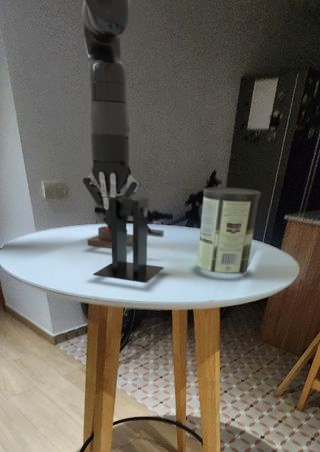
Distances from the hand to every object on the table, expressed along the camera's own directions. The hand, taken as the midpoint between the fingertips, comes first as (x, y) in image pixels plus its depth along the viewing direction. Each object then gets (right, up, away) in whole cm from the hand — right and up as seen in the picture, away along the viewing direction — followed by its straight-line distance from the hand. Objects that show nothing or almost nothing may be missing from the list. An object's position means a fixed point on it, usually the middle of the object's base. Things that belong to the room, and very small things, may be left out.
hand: (113, 227), depth 83 cm
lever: (+7, -8, -16) cm, 19 cm away
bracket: (+5, -17, -15) cm, 23 cm away
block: (0, -3, +3) cm, 4 cm away
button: (0, -1, +1) cm, 2 cm away
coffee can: (+23, -13, -9) cm, 28 cm away
